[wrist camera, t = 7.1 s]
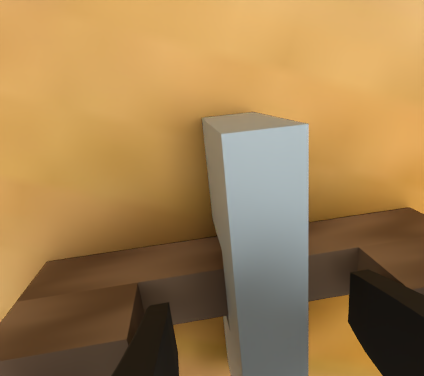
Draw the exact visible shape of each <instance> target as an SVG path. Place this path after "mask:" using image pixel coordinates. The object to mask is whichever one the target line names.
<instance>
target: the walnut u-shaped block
mask: <svg viewBox="0 0 424 376" xmlns="http://www.w3.org/2000/svg"><path fill="white" fill-rule="evenodd" d="M366 269H368V270H371V271H373V272H376V273H378V274H380V275H382V276H385V277H387V278H389V279H391V280H393V281H395V282H397V283H400V284H402V285H404V286H406V287H408V288H410V289H412V290H414V291H416V292H419V293H421V294H423V295H424V214H422V213H420V212H418V211H416V210H414V209H412V208H403V209H396V210H390V211H383V212H376V213H370V214H363V215H356V216H350V217H343V218H336V219H330V220H323V221H316V222H310V223H308V301H314V300H319V299H325V298H331V297H337V296H342V295H348V294H349V291H350V272H354V271H360V270H366ZM167 302H169V306H170V312H171V317H172V323H173V325H175V324H180V323H186V322H192V321H198V320H204V319H209V318H215V317H221V316H227V315H228V306H227V296H226V286H225V276H224V266H223V256H222V249H221V246H220V243H219V239H218V236H216V237H209V238H203V239H196V240H189V241H183V242H176V243H169V244H163V245H156V246H149V247H143V248H136V249H129V250H123V251H116V252H109V253H103V254H96V255H89V256H83V257H76V258H69V259H63V260H56V261H49V262H46V264H45V265H44V266H43V267H42V269H41V270H40V271H39V273H38V274H37V275H36V277H35V278H34V279H33V281H32V282H31V283H30V285H29V286H28V287H27V288H26V290H25V291H24V292H23V294H22V295H21V296H20V298H19V299H18V300H17V302H16V303H15V304H14V305H13V307H12V308H11V309H10V311H9V312H8V313H7V315H6V316H5V317H4V319H3V320H2V321H1V322H0V376H111V375H112V374H113V372H114V370H115V369H116V367H117V365H118V364H119V362H120V360H121V358H122V357H123V355H124V353H125V351H126V349H127V348H128V346H129V344H130V342H131V340H132V338H133V336H134V335H135V333H136V331H137V329H138V327H139V325H140V323H141V320H142V318H143V316H144V314H145V312H146V309H147V308H148V307H149V306H150V305H155V304H161V303H167Z"/></svg>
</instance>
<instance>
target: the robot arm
mask: <svg viewBox="0 0 424 376" xmlns="http://www.w3.org/2000/svg"><path fill="white" fill-rule="evenodd" d="M348 323H349V324H350V326H351V328H352V330H353V332H354V333H355V335H356V337H357V339H358V340H359V342H360V344H361V345H362V347H363V349H364V350H365V352H366V353H367V355H368V356H369V358H370V359H371V360H372V362H373V363H374V364H375V366H376V367H377V368H378V370H379V371H380V373H381V374H382V375H383V376H424V295H423V294H421V293H419V292H416V291H414V290H412V289H410V288H408V287H406V286H404V285H402V284H400V283H397V282H395V281H393V280H391V279H389V278H387V277H385V276H382V275H380V274H378V273H376V272H373V271H371V270H368V269H366V270H360V271H354V272H350V291H349V314H348ZM111 376H179V367H178V351H177V345H176V340H175V334H174V329H173V323H172V317H171V312H170V306H169V302H167V303H161V304H155V305H150V306H149V307H148V308H147V309H146V312H145V314H144V316H143V318H142V320H141V323H140V325H139V327H138V329H137V331H136V333H135V335H134V336H133V338H132V340H131V342H130V344H129V346H128V348H127V349H126V351H125V353H124V355H123V357H122V358H121V360H120V362H119V364H118V365H117V367H116V369H115V370H114V372H113V374H112V375H111Z"/></svg>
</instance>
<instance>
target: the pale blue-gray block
mask: <svg viewBox="0 0 424 376" xmlns="http://www.w3.org/2000/svg"><path fill="white" fill-rule="evenodd" d="M202 125H203V135H204V144H205V153H206V163H207V172H208V181H209V191H210V200H211V209H212V219H213V223H214V226H215V229H216V233H217V236H218V239H219V243H220V246H221V249H222V256H223V266H224V276H225V286H226V296H227V306H228V315H227V316H223V321H224V330H225V340H226V349H227V358H228V364H229V369H230V374H231V376H308V124H306V123H302V122H297V121H293V120H288V119H283V118H279V117H274V116H269V115H265V114H260V113H255V112H249V113H240V114H231V115H222V116H213V117H204V118H202Z"/></svg>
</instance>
